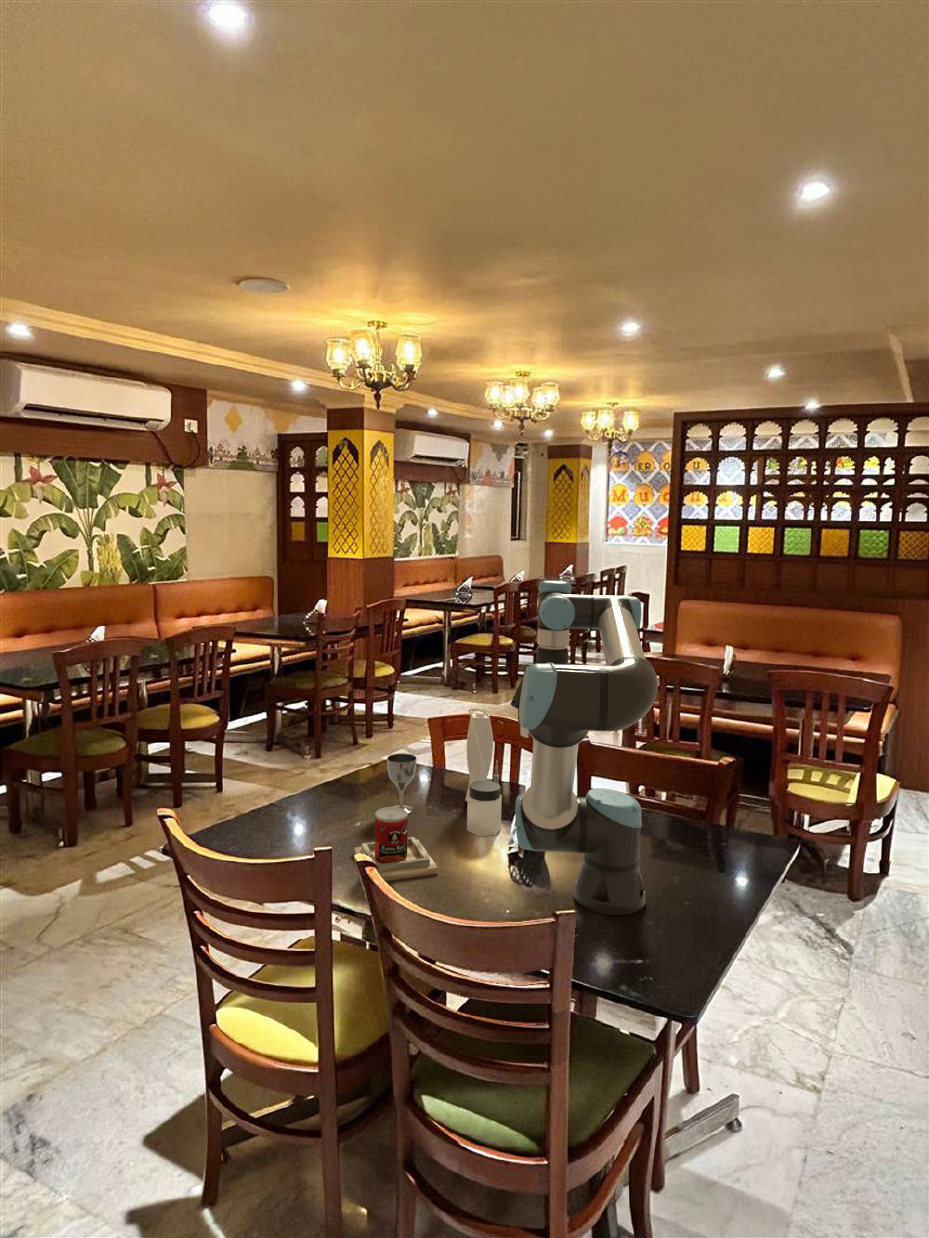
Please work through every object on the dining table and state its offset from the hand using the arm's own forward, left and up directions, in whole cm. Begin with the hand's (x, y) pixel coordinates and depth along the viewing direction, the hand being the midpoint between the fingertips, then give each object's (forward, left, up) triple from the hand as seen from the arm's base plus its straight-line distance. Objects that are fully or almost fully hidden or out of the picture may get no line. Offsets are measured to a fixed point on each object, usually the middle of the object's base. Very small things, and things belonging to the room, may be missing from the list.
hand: (549, 733), depth 193 cm
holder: (+4, +37, -30) cm, 47 cm away
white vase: (+35, +4, -30) cm, 47 cm away
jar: (+16, +10, -30) cm, 36 cm away
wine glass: (+35, +27, -30) cm, 53 cm away
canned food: (+4, +38, -28) cm, 47 cm away
